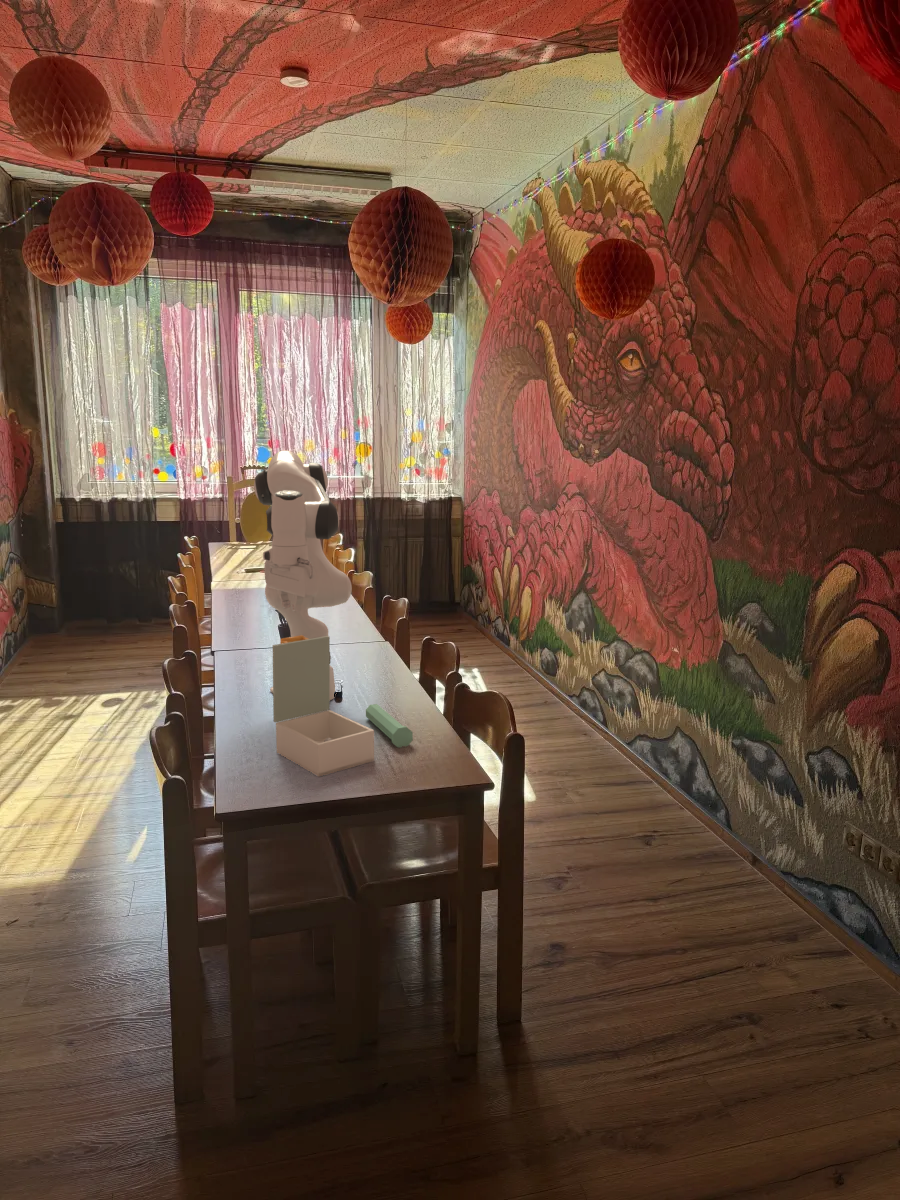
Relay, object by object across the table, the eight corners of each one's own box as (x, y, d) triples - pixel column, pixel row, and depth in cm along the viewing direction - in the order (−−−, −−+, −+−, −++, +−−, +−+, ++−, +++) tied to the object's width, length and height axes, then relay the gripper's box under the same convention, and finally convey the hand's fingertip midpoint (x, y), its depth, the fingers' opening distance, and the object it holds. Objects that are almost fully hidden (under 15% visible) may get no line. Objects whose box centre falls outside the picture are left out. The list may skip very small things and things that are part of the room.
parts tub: (276, 752, 219) (275, 722, 217) (330, 738, 229) (329, 709, 227) (318, 776, 204) (318, 744, 202) (374, 760, 214) (374, 730, 212)
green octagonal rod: (366, 698, 244) (396, 724, 222) (384, 703, 247) (416, 729, 224) (358, 717, 244) (388, 745, 222) (377, 722, 247) (408, 750, 224)
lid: (275, 722, 217) (263, 715, 222) (329, 709, 227) (317, 703, 232) (274, 646, 213) (262, 640, 217) (329, 636, 223) (317, 631, 227)
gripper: (322, 559, 212) (323, 614, 214) (281, 550, 227) (282, 601, 230) (300, 562, 208) (301, 618, 210) (259, 552, 223) (261, 604, 226)
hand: (291, 609), depth 220 cm, fingers open, 4 cm apart
